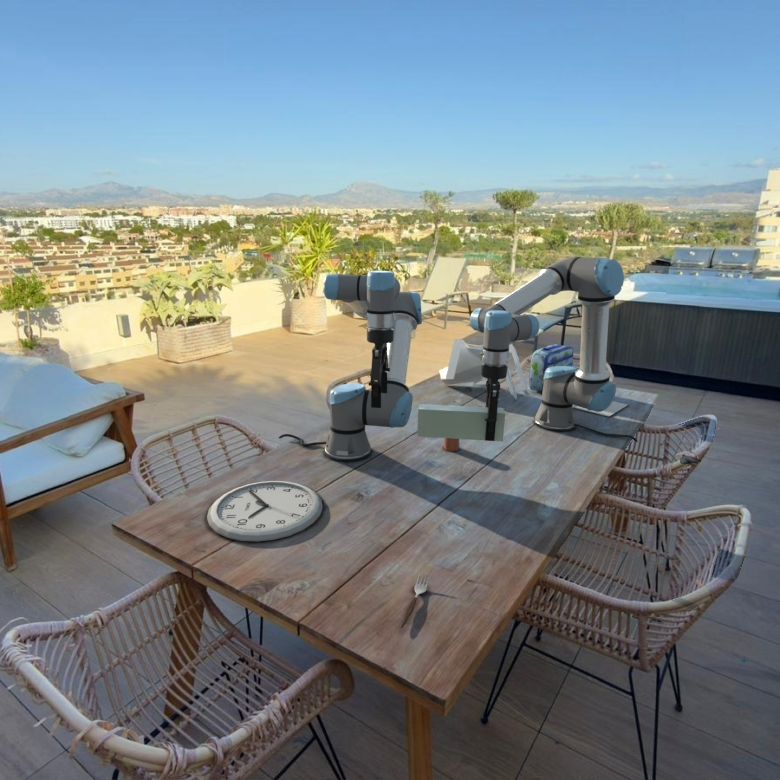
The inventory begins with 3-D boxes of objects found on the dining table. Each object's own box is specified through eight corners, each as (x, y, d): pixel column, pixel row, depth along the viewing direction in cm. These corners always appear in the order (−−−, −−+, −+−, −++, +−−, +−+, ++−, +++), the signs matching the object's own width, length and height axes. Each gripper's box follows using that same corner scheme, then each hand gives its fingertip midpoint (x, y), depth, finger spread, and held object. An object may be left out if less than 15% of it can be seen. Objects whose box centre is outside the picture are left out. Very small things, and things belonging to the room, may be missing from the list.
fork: (394, 628, 99) (394, 619, 99) (419, 578, 113) (419, 570, 113) (407, 632, 98) (408, 623, 98) (430, 581, 113) (431, 573, 112)
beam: (501, 435, 163) (503, 408, 161) (502, 441, 159) (505, 413, 156) (418, 430, 166) (419, 403, 163) (417, 436, 161) (418, 408, 159)
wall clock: (320, 533, 126) (192, 537, 124) (320, 539, 127) (193, 543, 124) (324, 476, 155) (220, 479, 152) (324, 481, 155) (221, 484, 153)
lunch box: (545, 397, 238) (550, 352, 231) (524, 391, 245) (529, 348, 239) (572, 386, 255) (578, 344, 249) (552, 381, 262) (557, 340, 256)
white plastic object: (461, 429, 252) (437, 405, 227) (444, 352, 274) (420, 323, 250) (535, 404, 240) (518, 377, 215) (510, 326, 262) (492, 293, 237)
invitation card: (608, 416, 214) (573, 407, 224) (608, 416, 214) (573, 408, 224) (628, 404, 229) (594, 396, 238) (628, 405, 229) (594, 397, 238)
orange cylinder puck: (458, 445, 183) (459, 430, 181) (458, 451, 178) (459, 435, 177) (444, 445, 184) (445, 429, 182) (444, 450, 179) (444, 434, 177)
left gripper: (373, 319, 158) (373, 386, 165) (359, 336, 135) (359, 413, 141) (398, 320, 157) (396, 388, 164) (388, 337, 134) (386, 415, 140)
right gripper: (480, 356, 163) (475, 425, 170) (483, 371, 146) (478, 447, 153) (504, 357, 162) (499, 426, 169) (510, 372, 145) (504, 449, 152)
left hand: (379, 399), depth 152 cm, fingers open, 13 cm apart
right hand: (489, 436), depth 161 cm, fingers closed on beam, 5 cm apart
